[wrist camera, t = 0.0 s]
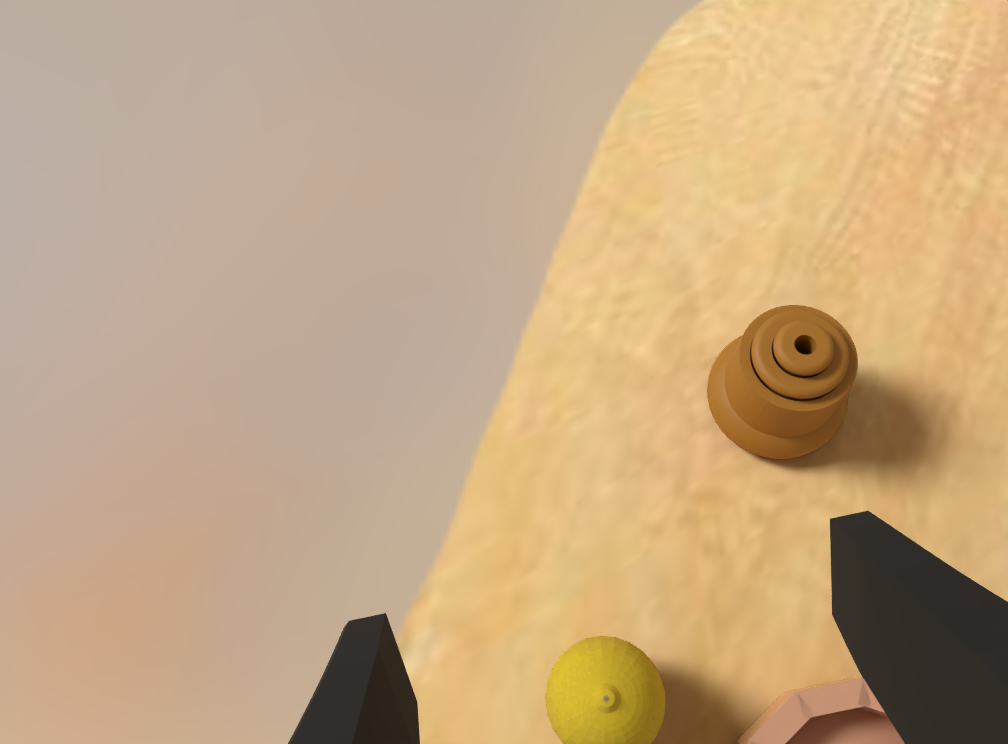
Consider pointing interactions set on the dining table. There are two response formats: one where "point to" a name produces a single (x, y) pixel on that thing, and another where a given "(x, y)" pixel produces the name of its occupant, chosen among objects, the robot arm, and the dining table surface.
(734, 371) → the ornamental finial
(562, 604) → the dining table surface
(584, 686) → the lemon
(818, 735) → the bowl
